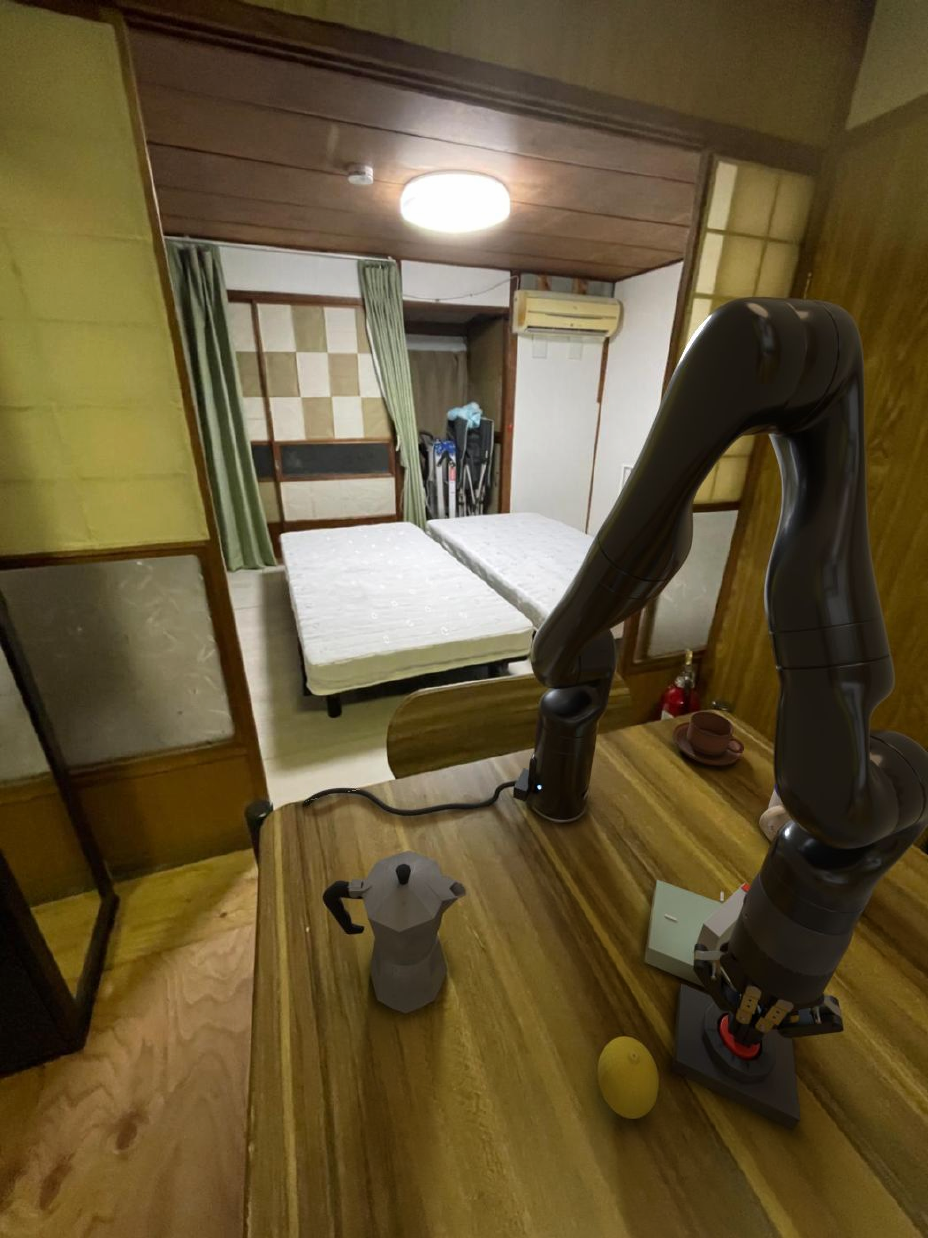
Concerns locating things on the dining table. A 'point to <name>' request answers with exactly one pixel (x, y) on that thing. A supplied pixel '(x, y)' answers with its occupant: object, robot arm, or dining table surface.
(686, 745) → the cup and saucer
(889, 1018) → the dining table surface
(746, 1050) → the tap button
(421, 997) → the coffeepot
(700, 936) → the gray rectangular block
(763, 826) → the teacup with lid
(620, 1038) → the lemon
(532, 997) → the dining table surface
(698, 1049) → the button block
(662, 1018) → the dining table surface
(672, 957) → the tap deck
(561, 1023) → the dining table surface
